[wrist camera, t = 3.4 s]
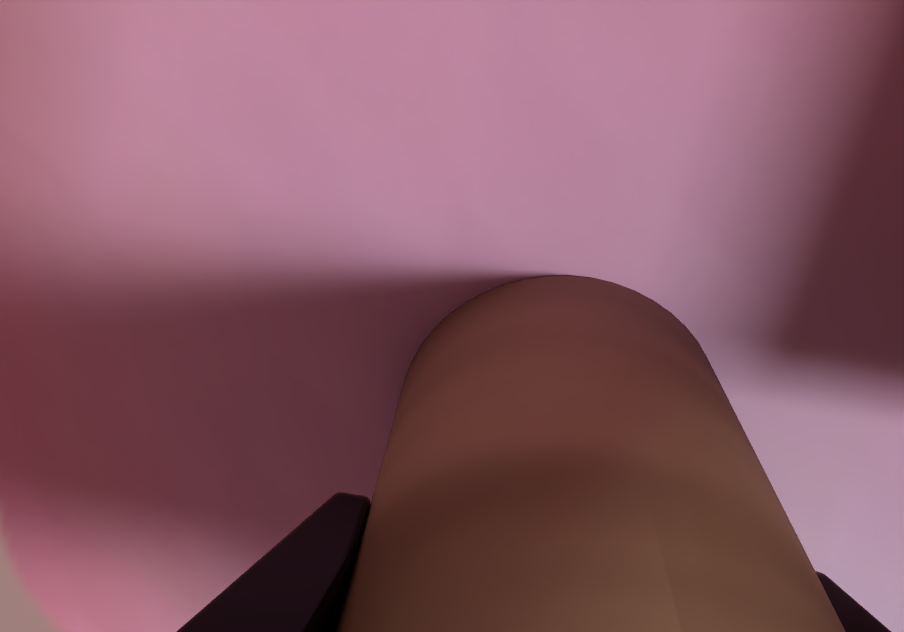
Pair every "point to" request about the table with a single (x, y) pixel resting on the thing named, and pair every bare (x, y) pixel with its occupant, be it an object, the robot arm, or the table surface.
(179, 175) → the table surface
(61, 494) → the table surface
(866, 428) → the table surface
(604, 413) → the peg
